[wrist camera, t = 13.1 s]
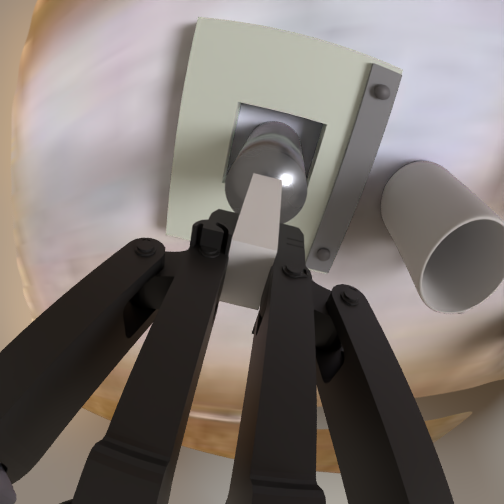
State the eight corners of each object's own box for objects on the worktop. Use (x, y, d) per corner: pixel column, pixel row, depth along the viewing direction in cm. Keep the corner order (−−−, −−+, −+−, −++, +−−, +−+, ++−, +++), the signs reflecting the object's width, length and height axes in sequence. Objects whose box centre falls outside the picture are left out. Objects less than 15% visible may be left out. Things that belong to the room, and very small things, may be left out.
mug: (367, 179, 26) (405, 244, 16) (445, 147, 23) (513, 195, 13) (400, 275, 31) (429, 353, 22) (465, 247, 28) (510, 315, 19)
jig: (204, 20, 19) (194, 15, 17) (394, 69, 20) (406, 69, 17) (172, 224, 30) (162, 239, 28) (325, 262, 31) (327, 280, 28)
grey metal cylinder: (253, 115, 24) (233, 141, 15) (307, 129, 24) (317, 162, 16) (242, 165, 26) (218, 216, 18) (293, 178, 26) (294, 234, 18)
